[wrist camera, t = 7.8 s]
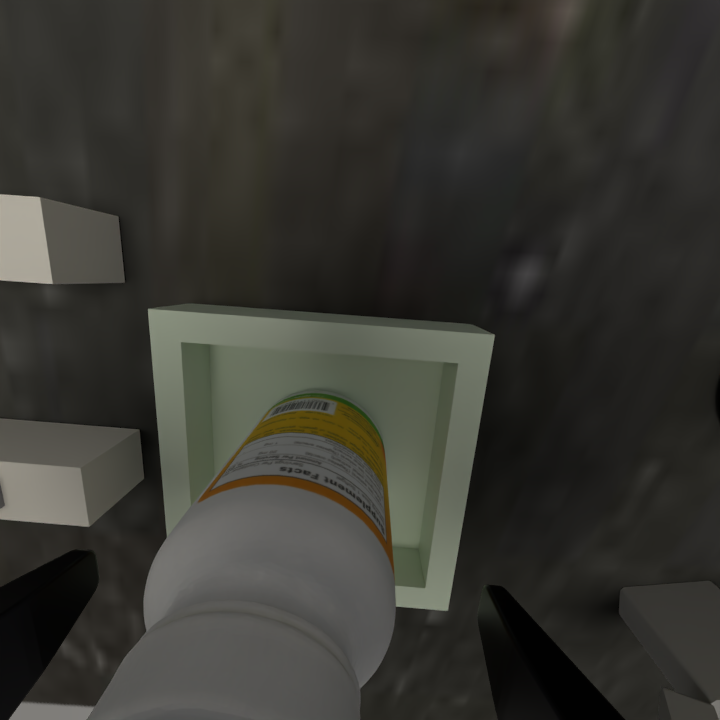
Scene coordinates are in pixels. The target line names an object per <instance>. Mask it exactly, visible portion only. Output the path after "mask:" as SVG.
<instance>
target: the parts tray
mask: <svg viewBox="0 0 720 720" xmlns="http://www.w3.org/2000/svg"><path fill="white" fill-rule="evenodd" d="M148 317H149V329H150V341H151V353H152V365H153V377H154V389H155V401H156V413H157V425H158V437H159V448H160V460H161V472H162V484H163V496H164V508H165V520H166V532H167V537H168V536H169V534H170V533H171V532H172V530H173V529H174V527H175V526H176V525H177V523H178V522H179V521H180V519H181V518H182V517H183V516H184V514H185V513H186V512H187V511H188V509H189V508H190V507H191V506H192V504H193V503H194V502H195V501H196V499H197V498H198V497H199V496H200V494H201V493H202V492H203V491H204V489H205V488H206V487H207V486H208V484H209V483H210V482H211V480H212V479H213V478H214V477H215V475H216V474H217V473H218V472H219V470H220V469H221V468H222V467H223V465H224V464H225V463H226V461H227V460H228V459H229V458H230V456H231V455H232V454H233V453H234V451H235V450H236V449H237V448H238V446H239V445H240V444H241V442H242V441H243V440H244V439H245V437H246V436H247V435H248V434H249V432H250V431H251V430H252V428H253V427H254V426H255V425H256V424H257V422H258V421H259V420H260V419H261V417H262V416H263V415H264V414H265V413H266V412H267V411H268V410H269V409H270V408H271V407H272V406H273V405H274V404H276V403H277V402H278V401H280V400H282V399H283V398H285V397H288V396H290V395H292V394H295V393H299V392H303V391H313V390H319V391H328V392H332V393H337V394H340V395H342V396H345V397H347V398H349V399H351V400H353V401H354V402H356V403H357V404H359V405H360V406H361V407H362V408H363V409H364V410H365V411H366V412H367V413H368V414H369V415H370V416H371V417H372V419H373V420H374V422H375V423H376V425H377V427H378V429H379V431H380V433H381V436H382V439H383V443H384V449H385V457H386V470H387V484H388V497H389V509H390V522H391V535H392V549H393V562H394V576H395V598H396V606H397V607H409V608H420V609H432V610H443V611H448V607H449V601H450V595H451V589H452V583H453V577H454V572H455V566H456V560H457V554H458V548H459V542H460V536H461V531H462V525H463V519H464V513H465V507H466V501H467V495H468V490H469V484H470V478H471V472H472V466H473V460H474V454H475V449H476V443H477V437H478V431H479V425H480V419H481V413H482V408H483V402H484V396H485V390H486V384H487V378H488V372H489V367H490V361H491V355H492V349H493V343H494V337H495V335H494V334H492V333H490V332H488V331H485V330H483V329H481V328H479V327H477V326H475V325H472V324H463V323H450V322H436V321H423V320H410V319H396V318H383V317H369V316H356V315H342V314H329V313H315V312H302V311H288V310H275V309H261V308H248V307H235V306H221V305H208V304H194V303H187V304H180V305H173V306H165V307H158V308H151V309H148Z"/></svg>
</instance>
